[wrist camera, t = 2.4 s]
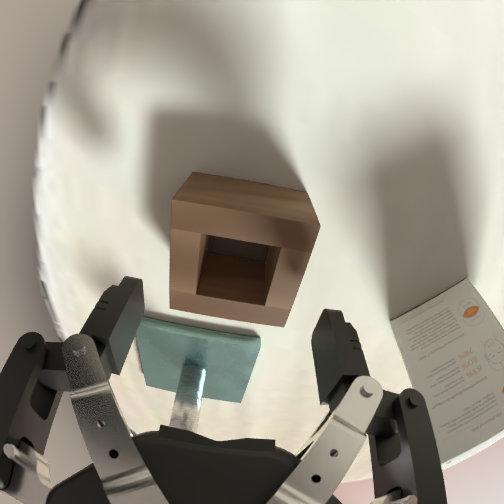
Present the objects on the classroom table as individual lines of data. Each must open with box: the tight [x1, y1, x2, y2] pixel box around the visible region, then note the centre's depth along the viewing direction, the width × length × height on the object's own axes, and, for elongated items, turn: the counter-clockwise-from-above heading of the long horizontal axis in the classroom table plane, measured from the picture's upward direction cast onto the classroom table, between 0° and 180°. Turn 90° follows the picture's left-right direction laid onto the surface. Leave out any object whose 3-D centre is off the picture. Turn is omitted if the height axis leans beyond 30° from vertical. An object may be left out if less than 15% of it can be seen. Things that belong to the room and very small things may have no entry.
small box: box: [390, 278, 504, 470], centre depth 15 cm, size 8×6×13 cm
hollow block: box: [169, 172, 320, 327], centre depth 15 cm, size 6×6×4 cm
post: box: [136, 317, 261, 433], centre depth 19 cm, size 10×10×11 cm
